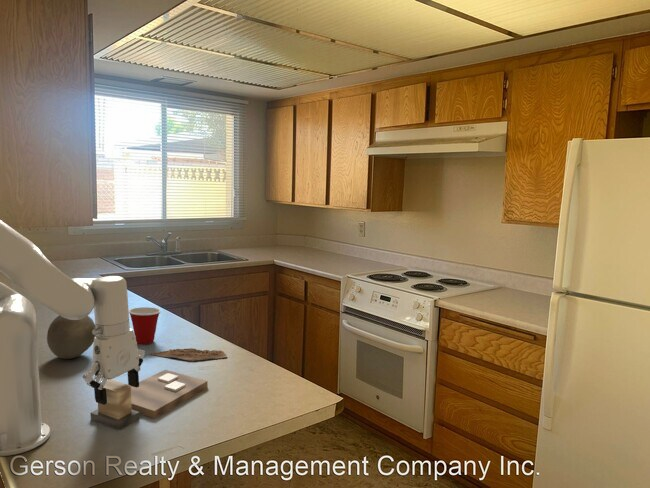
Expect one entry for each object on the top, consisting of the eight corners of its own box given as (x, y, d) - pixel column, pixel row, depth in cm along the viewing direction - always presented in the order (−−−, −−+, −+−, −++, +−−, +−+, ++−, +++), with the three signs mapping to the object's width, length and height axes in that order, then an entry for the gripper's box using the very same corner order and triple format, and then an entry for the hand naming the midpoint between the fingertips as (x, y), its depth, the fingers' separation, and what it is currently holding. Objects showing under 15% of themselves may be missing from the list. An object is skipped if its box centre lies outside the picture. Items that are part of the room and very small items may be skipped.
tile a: (175, 391, 131) (175, 389, 130) (164, 388, 132) (164, 386, 132) (185, 386, 134) (185, 384, 134) (174, 382, 136) (174, 380, 136)
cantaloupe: (48, 369, 147) (46, 321, 145) (47, 353, 159) (45, 309, 157) (99, 361, 155) (97, 315, 152) (94, 346, 167) (92, 304, 164)
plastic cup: (168, 341, 174) (167, 308, 172) (141, 349, 165) (140, 315, 163) (149, 334, 180) (148, 303, 178) (123, 342, 171) (121, 309, 169)
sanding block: (119, 430, 114) (118, 395, 113) (90, 420, 119) (89, 385, 117) (139, 419, 120) (138, 385, 118) (111, 409, 124) (109, 376, 123)
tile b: (168, 383, 136) (168, 381, 136) (157, 380, 137) (157, 378, 137) (178, 377, 139) (178, 375, 139) (168, 375, 141) (168, 373, 141)
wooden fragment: (232, 352, 166) (232, 349, 166) (222, 365, 155) (222, 362, 155) (159, 348, 168) (159, 345, 168) (145, 360, 157) (145, 357, 157)
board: (154, 418, 120) (154, 410, 120) (109, 403, 127) (109, 396, 127) (207, 387, 138) (207, 380, 138) (165, 375, 145) (165, 369, 145)
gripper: (92, 342, 107) (98, 414, 109) (151, 319, 122) (156, 383, 125) (69, 336, 110) (76, 406, 113) (130, 315, 125) (135, 377, 128)
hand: (118, 394), depth 119 cm, fingers open, 9 cm apart
